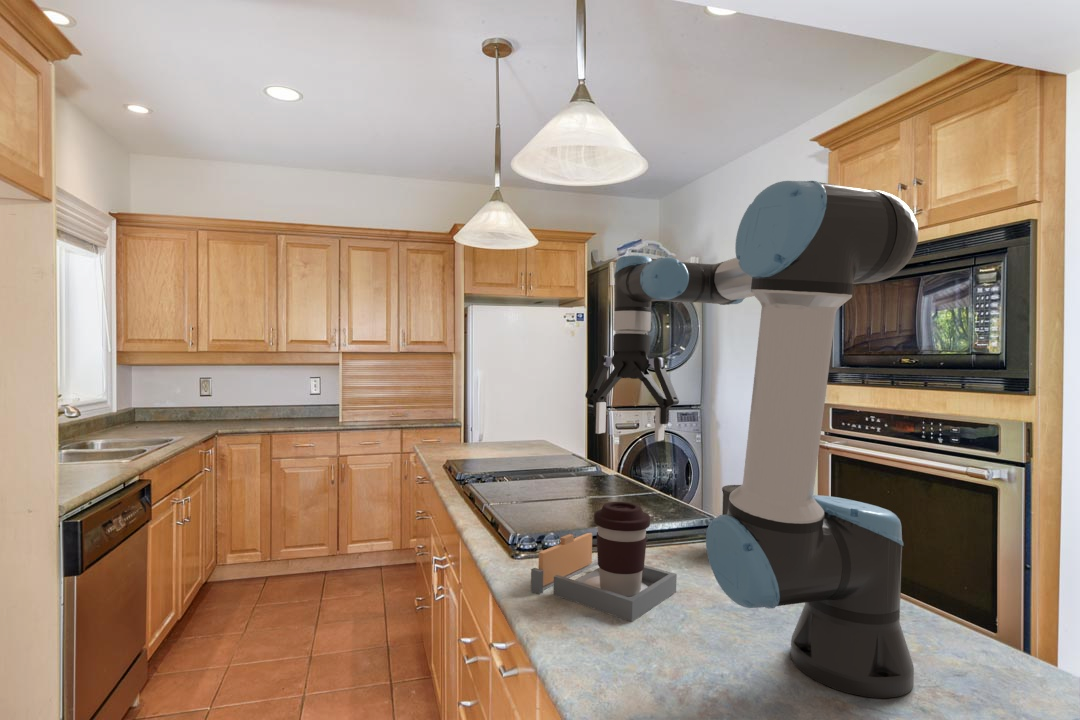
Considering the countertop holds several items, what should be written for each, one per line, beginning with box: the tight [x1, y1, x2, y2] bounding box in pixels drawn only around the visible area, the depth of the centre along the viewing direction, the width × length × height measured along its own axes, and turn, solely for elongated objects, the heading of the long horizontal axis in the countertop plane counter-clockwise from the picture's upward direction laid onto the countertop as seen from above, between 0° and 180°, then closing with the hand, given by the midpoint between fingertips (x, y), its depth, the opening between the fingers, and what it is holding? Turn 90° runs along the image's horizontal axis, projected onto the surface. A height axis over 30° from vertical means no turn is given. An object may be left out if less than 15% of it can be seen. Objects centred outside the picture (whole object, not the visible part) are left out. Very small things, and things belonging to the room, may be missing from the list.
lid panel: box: [538, 532, 593, 586], centre depth 112 cm, size 1×16×7 cm, turn 141°
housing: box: [530, 558, 678, 623], centre depth 111 cm, size 20×30×4 cm
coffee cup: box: [593, 501, 651, 597], centre depth 105 cm, size 10×10×15 cm
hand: (629, 436), depth 120 cm, fingers open, 13 cm apart
